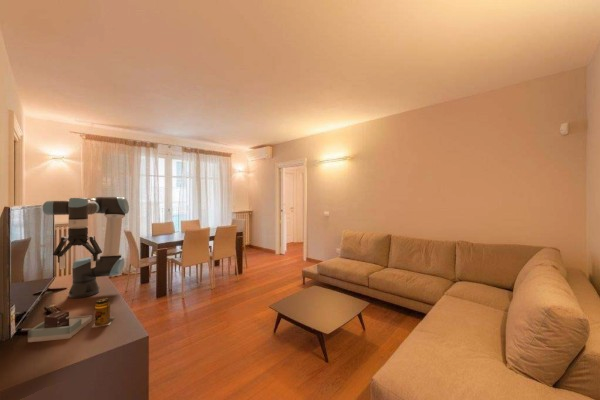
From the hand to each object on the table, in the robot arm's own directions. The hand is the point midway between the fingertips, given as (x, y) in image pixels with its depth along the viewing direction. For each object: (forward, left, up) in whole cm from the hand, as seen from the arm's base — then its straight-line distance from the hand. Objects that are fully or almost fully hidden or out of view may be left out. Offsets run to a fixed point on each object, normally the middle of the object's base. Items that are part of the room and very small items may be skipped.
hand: (78, 268), depth 127 cm
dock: (+10, 0, -27) cm, 29 cm away
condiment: (+6, +14, -27) cm, 31 cm away
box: (+14, 0, -25) cm, 28 cm away
